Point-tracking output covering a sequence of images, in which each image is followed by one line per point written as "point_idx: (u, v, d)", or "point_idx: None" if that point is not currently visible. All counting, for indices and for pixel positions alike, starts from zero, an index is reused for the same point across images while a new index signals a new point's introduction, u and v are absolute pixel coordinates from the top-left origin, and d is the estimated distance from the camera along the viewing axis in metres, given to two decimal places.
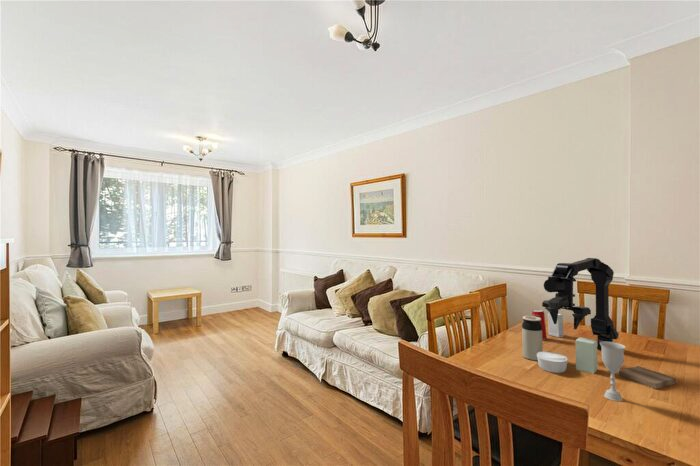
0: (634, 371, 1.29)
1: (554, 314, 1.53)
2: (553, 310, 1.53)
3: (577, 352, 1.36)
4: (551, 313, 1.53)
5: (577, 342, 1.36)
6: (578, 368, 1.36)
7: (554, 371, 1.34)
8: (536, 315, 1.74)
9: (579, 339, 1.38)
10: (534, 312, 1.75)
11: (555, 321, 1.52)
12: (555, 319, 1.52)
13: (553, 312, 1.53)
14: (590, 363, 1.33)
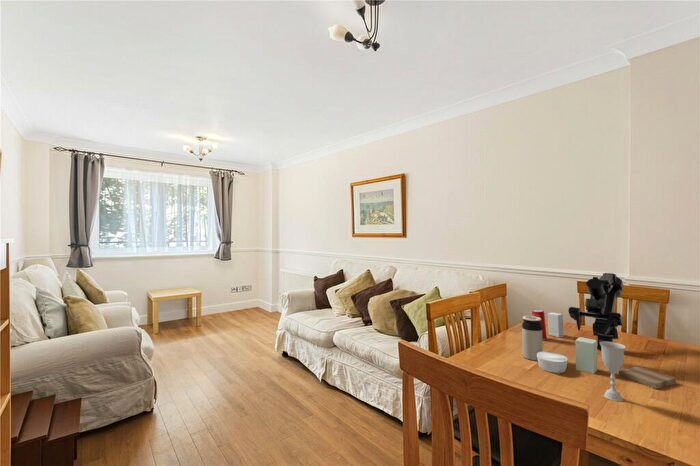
0: (634, 371, 1.29)
1: (579, 321, 1.47)
2: (579, 317, 1.48)
3: (577, 352, 1.36)
4: (577, 318, 1.48)
5: (577, 342, 1.36)
6: (578, 368, 1.36)
7: (554, 371, 1.34)
8: (536, 315, 1.74)
9: (579, 339, 1.38)
10: (534, 312, 1.75)
11: (579, 327, 1.46)
12: (579, 326, 1.46)
13: (579, 318, 1.48)
14: (590, 363, 1.33)
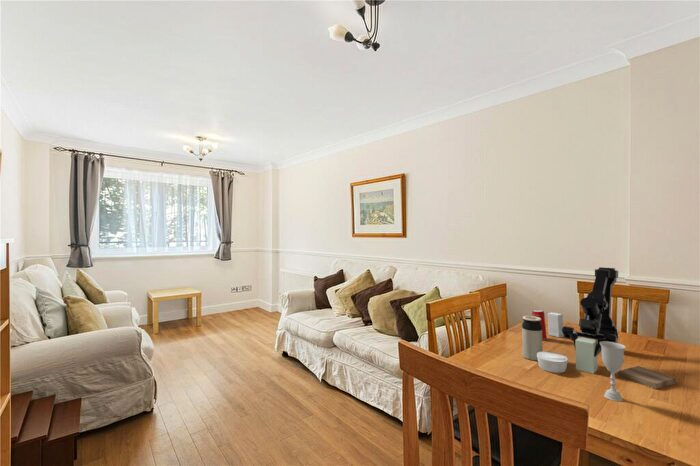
0: (634, 371, 1.29)
1: None
2: (577, 338, 1.41)
3: (577, 352, 1.36)
4: None
5: (577, 342, 1.36)
6: (578, 368, 1.36)
7: (554, 371, 1.34)
8: (536, 315, 1.74)
9: (579, 339, 1.38)
10: (534, 312, 1.75)
11: None
12: None
13: None
14: (590, 363, 1.33)
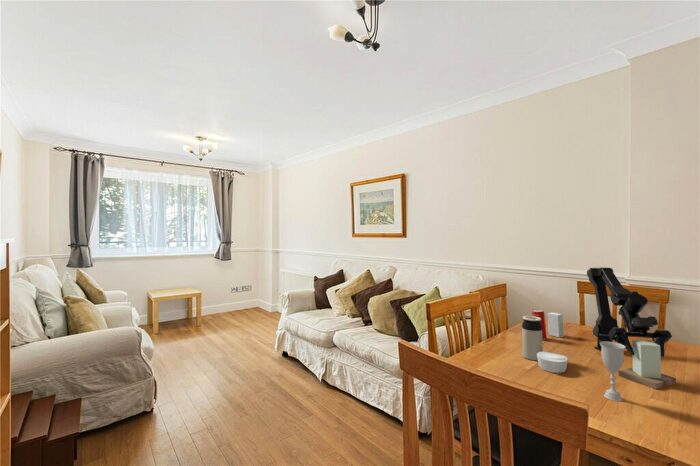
0: None
1: None
2: None
3: (643, 357, 1.24)
4: (627, 341, 1.29)
5: (643, 346, 1.24)
6: (644, 375, 1.24)
7: (554, 371, 1.34)
8: (536, 315, 1.74)
9: (640, 343, 1.26)
10: (534, 312, 1.75)
11: None
12: None
13: None
14: (657, 367, 1.23)
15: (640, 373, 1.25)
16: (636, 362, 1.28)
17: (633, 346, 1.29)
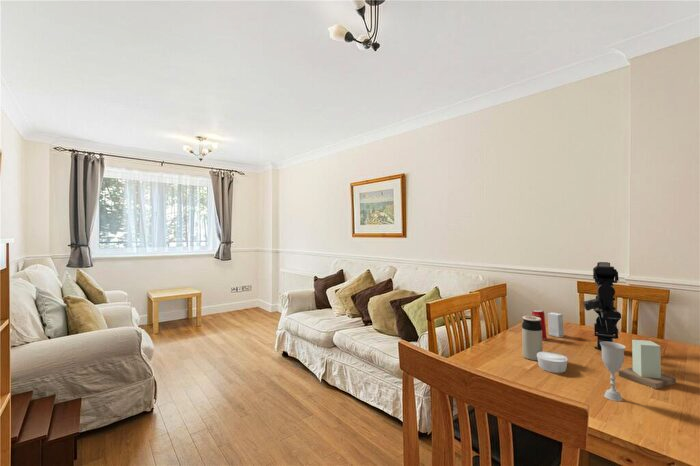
0: None
1: (602, 317, 1.51)
2: (601, 313, 1.52)
3: (643, 357, 1.24)
4: (598, 315, 1.52)
5: (643, 346, 1.24)
6: (644, 375, 1.24)
7: (554, 371, 1.34)
8: (536, 315, 1.74)
9: (640, 343, 1.26)
10: (534, 312, 1.75)
11: (603, 324, 1.51)
12: (603, 322, 1.51)
13: (600, 315, 1.52)
14: (657, 367, 1.23)
15: (640, 373, 1.25)
16: (636, 362, 1.28)
17: (633, 346, 1.29)
